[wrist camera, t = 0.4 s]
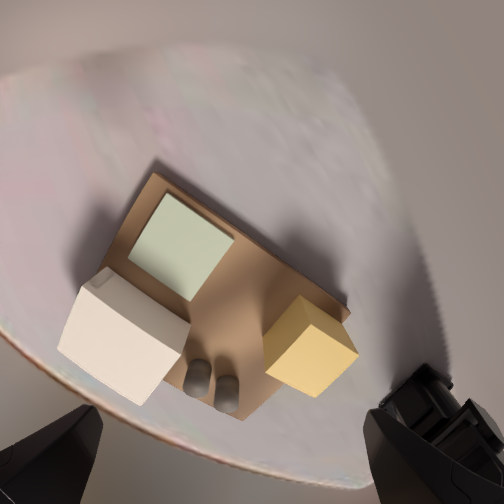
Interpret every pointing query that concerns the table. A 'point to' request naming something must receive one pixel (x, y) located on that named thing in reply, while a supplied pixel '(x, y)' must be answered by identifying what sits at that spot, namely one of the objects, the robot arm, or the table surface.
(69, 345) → the cover
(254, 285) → the board
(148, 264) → the thin mint green panel
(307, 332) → the block
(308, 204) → the table surface
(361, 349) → the table surface
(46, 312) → the table surface
